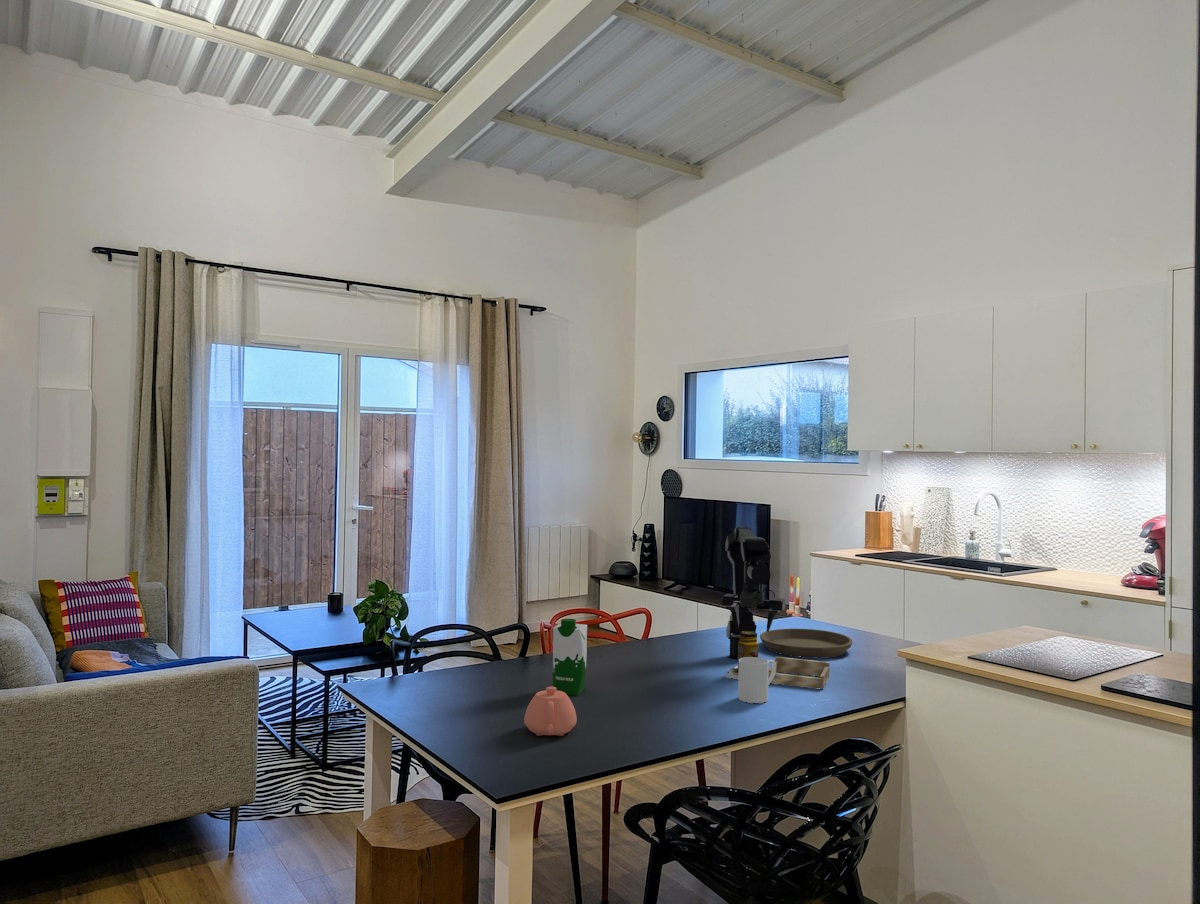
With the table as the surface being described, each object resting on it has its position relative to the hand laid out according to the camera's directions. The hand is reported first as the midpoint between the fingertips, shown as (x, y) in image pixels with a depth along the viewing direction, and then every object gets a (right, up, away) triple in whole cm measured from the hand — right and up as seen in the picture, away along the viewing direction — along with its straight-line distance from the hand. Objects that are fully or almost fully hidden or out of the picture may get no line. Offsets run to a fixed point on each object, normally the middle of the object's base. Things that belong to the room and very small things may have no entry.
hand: (752, 630), depth 248 cm
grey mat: (-2, -13, -3) cm, 13 cm away
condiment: (-3, -12, -2) cm, 13 cm away
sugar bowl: (-58, -11, -59) cm, 84 cm away
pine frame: (+12, -13, -9) cm, 20 cm away
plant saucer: (+24, -14, +33) cm, 43 cm away
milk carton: (-55, -12, -24) cm, 61 cm away
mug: (-4, -13, -28) cm, 31 cm away
